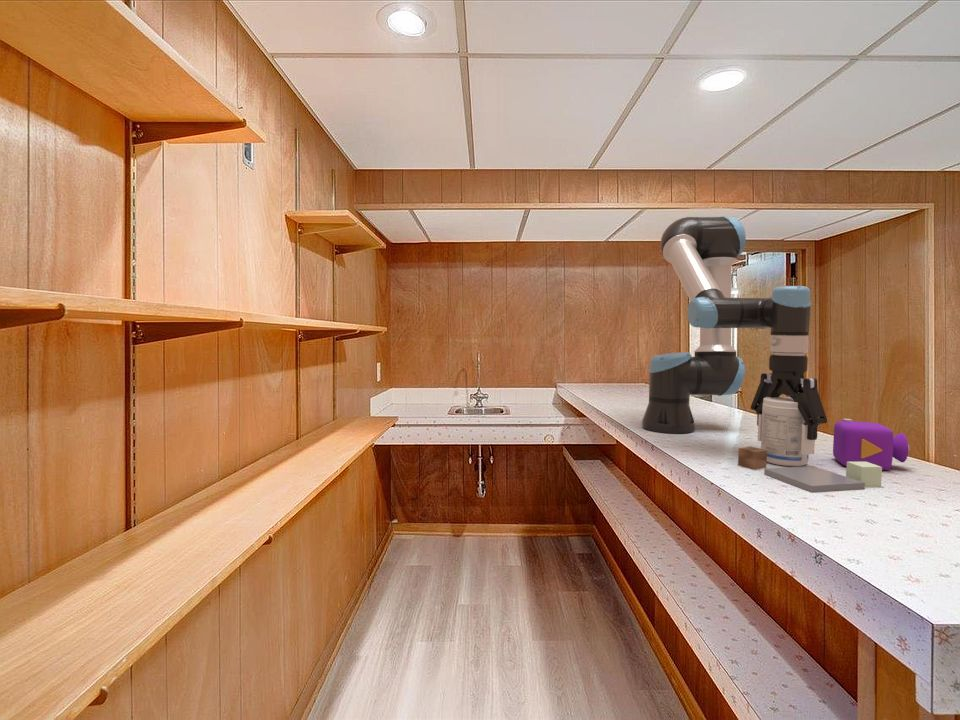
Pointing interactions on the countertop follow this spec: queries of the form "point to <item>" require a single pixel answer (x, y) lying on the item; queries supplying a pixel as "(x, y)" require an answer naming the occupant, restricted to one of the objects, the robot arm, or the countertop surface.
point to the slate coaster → (814, 479)
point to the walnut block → (752, 457)
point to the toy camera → (868, 443)
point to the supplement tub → (782, 432)
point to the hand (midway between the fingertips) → (784, 447)
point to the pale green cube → (865, 473)
